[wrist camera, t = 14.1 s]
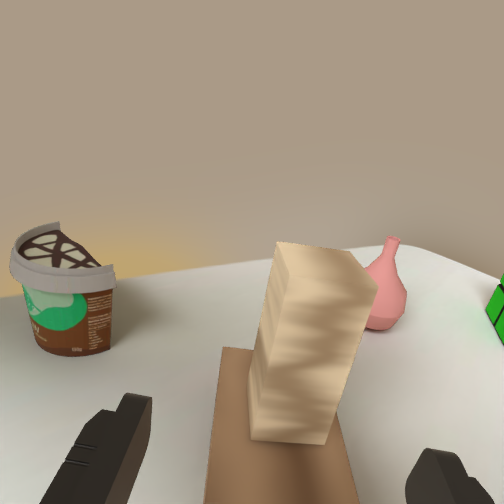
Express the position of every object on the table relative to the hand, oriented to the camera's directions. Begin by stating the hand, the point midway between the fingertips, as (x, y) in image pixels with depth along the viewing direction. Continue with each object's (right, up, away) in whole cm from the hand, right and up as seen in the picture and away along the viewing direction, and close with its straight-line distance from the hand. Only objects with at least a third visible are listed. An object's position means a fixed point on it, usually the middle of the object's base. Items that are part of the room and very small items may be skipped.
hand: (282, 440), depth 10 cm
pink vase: (+14, -4, +36) cm, 39 cm away
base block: (0, -11, +17) cm, 20 cm away
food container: (-21, -3, +26) cm, 33 cm away
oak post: (+1, -6, +15) cm, 16 cm away
